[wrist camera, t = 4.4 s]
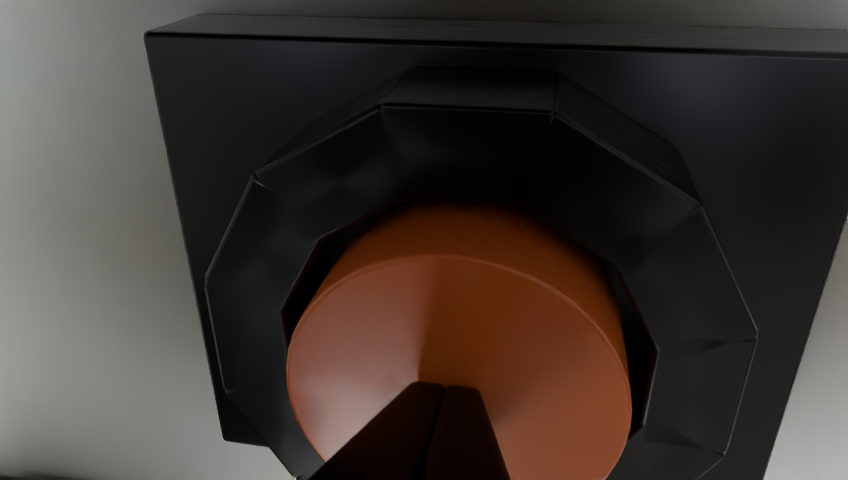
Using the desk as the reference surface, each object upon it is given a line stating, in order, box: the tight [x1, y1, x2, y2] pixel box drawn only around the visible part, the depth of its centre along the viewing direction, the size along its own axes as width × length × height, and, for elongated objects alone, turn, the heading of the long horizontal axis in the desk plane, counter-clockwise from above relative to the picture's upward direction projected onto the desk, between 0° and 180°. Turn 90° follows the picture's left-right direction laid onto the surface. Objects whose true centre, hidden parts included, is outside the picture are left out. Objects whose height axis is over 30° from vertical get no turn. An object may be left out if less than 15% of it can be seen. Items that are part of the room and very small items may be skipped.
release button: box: [286, 200, 632, 480], centre depth 9 cm, size 4×4×2 cm
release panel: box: [144, 14, 848, 480], centre depth 11 cm, size 10×8×4 cm
